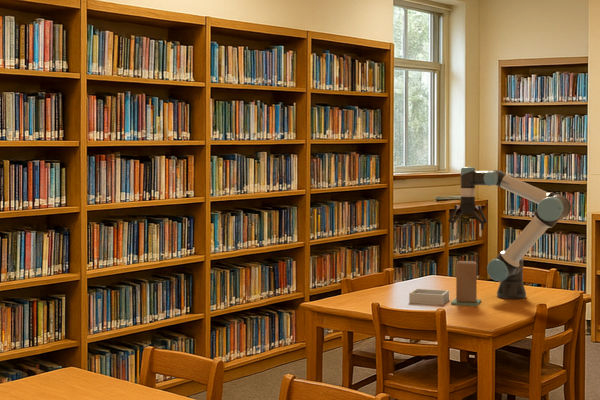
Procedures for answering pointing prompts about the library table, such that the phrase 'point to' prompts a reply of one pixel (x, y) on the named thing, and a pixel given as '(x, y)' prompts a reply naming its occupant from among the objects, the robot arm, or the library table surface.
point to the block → (466, 281)
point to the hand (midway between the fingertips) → (467, 235)
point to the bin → (429, 296)
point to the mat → (466, 303)
